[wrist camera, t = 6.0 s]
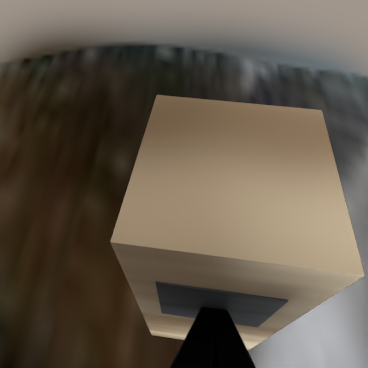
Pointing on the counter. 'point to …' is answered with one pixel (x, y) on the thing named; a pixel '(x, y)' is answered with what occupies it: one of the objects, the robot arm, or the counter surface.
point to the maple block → (234, 217)
